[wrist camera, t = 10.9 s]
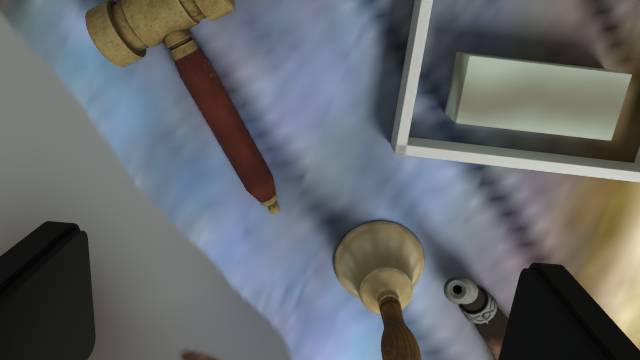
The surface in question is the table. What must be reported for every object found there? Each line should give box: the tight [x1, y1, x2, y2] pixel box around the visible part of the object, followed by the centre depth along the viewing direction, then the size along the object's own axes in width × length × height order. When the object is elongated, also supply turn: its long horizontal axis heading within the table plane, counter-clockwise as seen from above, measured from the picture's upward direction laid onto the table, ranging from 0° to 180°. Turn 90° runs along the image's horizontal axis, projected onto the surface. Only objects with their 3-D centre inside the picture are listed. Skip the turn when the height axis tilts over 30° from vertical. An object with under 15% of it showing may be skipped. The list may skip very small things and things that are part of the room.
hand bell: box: [334, 221, 425, 360], centre depth 38 cm, size 8×8×16 cm
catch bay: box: [391, 0, 640, 182], centre depth 38 cm, size 13×22×3 cm, turn 83°
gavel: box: [85, 0, 280, 215], centre depth 40 cm, size 21×5×10 cm
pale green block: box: [445, 52, 632, 141], centre depth 39 cm, size 5×12×4 cm, turn 84°
